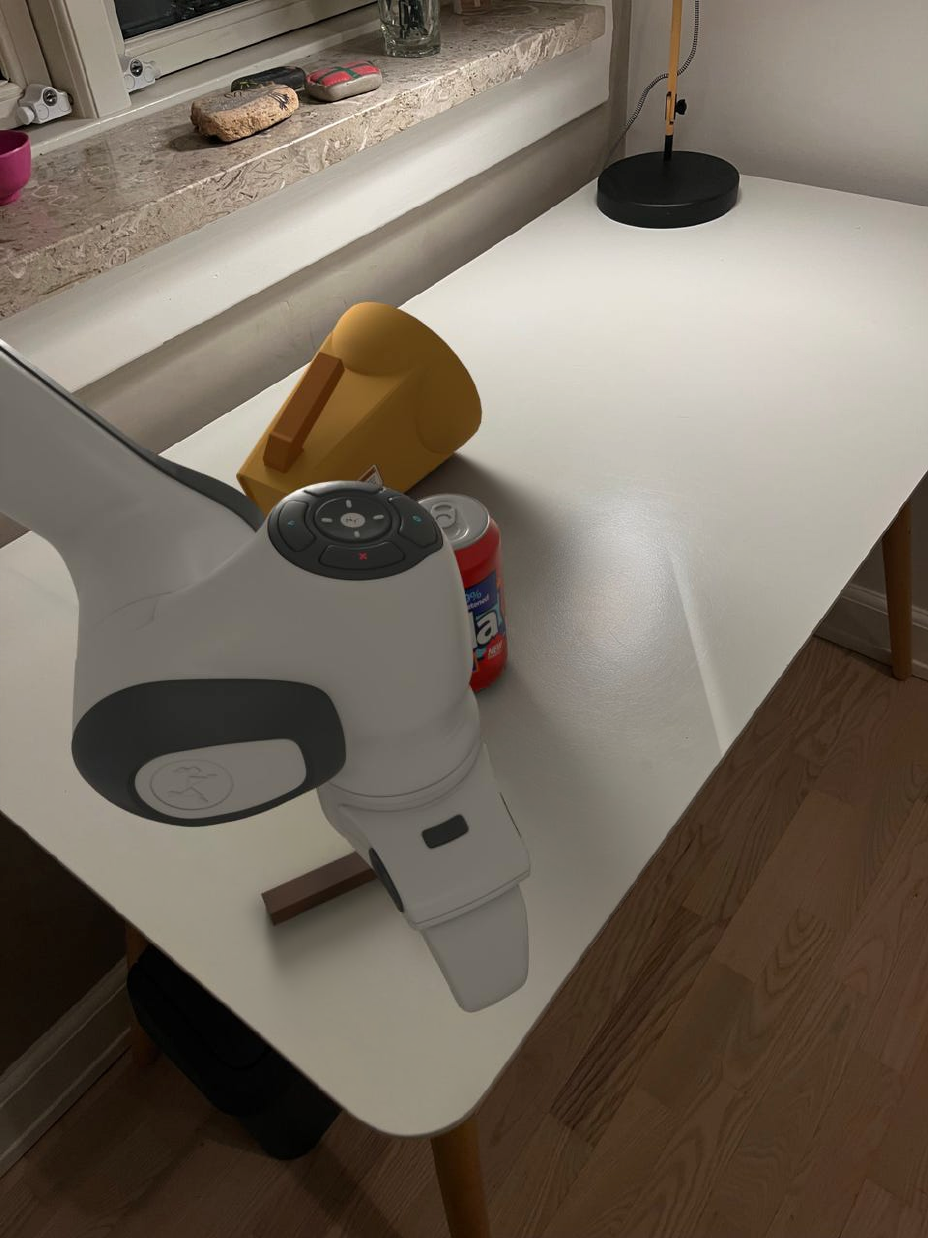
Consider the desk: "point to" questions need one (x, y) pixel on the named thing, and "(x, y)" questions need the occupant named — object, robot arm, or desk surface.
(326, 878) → the wooden mallet
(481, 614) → the soda can
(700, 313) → the desk surface
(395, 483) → the flared yellow plastic housing
